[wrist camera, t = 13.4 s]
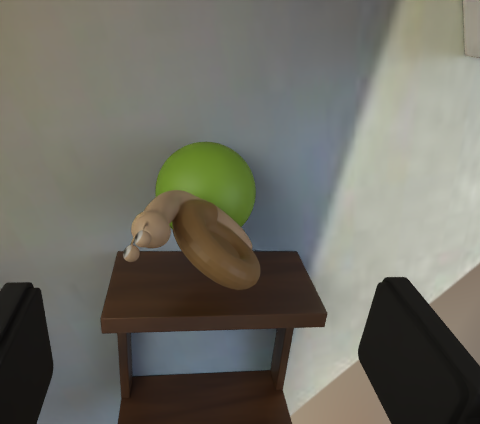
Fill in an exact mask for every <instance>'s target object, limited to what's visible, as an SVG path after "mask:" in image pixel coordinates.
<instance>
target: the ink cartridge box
mask: <svg viewBox="0 0 480 424" xmlns="http://www.w3.org/2000/svg"><path fill="white" fill-rule="evenodd" d="M463 15H464V44H465V55H466V56H469V57H476V58H480V0H463Z"/></svg>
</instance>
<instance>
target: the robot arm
mask: <svg viewBox="0 0 480 424" xmlns="http://www.w3.org/2000/svg"><path fill="white" fill-rule="evenodd" d="M358 356H359V360H360V363H361V364H362V367H363V368H364V370H365V372H366V374H367V376H368V378H369V380H370V382H371V384H372V386H373V388H374V390H375V392H376V394H377V396H378V398H379V400H380V402H381V404H382V406H383V408H384V410H385V412H386V414H387V416H388V418H389V420H390V422H391V424H480V366H479V365H478V363H477V362H476V361H475V360H474V359H473V357H472V356H471V355H470V354H469V353H468V351H467V350H466V349H465V348H464V346H463V345H462V344H461V343H460V342H459V341H458V339H457V338H456V337H455V336H454V334H453V333H452V332H451V331H450V329H449V328H448V327H447V326H446V325H445V323H444V322H443V321H442V320H441V319H440V317H439V316H438V315H437V314H436V313H435V311H434V310H433V309H432V308H431V306H430V305H429V304H428V303H427V302H426V300H425V299H424V298H423V297H422V295H421V294H420V293H419V292H418V291H417V289H416V288H415V287H414V286H413V285H412V283H411V282H410V281H409V280H408V279H407V278H405V277H387V278H385V279H384V280H383V281H382V282H380V283H379V284H378V285H377V288H376V291H375V295H374V298H373V301H372V305H371V308H370V311H369V315H368V318H367V321H366V325H365V328H364V331H363V335H362V338H361V341H360V345H359V348H358ZM52 374H53V358H52V352H51V346H50V341H49V335H48V329H47V323H46V317H45V311H44V306H43V300H42V294H41V290H40V288H34V287H33V284H32V283H30V282H26V283H6V284H5V285H4V286H3V288H2V289H1V291H0V424H37V420H38V417H39V414H40V411H41V408H42V405H43V402H44V399H45V396H46V393H47V390H48V387H49V384H50V381H51V378H52Z"/></svg>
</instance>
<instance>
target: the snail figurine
mask: <svg viewBox="0 0 480 424" xmlns="http://www.w3.org/2000/svg"><path fill="white" fill-rule="evenodd" d="M255 195H256V189H255V182H254V178H253V175H252V172H251V170H250V168H249V166H248V165H247V163H246V162H245V161H244V159H243V158H242V157H241V156H240V155H239V154H237V153H236V152H235V151H233V150H232V149H230V148H228V147H226V146H224V145H221V144H218V143H213V142H198V143H193V144H190V145H187V146H184V147H182V148H181V149H179V150H177V151H176V152H175V153H173V154H172V155H171V156H170V157H169V158H168V159H167V161H166V162H165V163H164V165H163V166H162V168H161V170H160V172H159V175H158V178H157V182H156V198H155V199H154V200H153V201H152V202H151V203H150V204H149V205H148V206H147V207H146V208H145V210H144V212H142V213H140V214H138V215H137V216H136V218H135V220H134V222H133V223H132V228H131V231H132V235H133V237H134V238H133V240H132V242H131V245H129V246H127V247H126V248H125V250H124V252H123V257H124V259H125V260H126V261H128V262H134V261H136V260H137V259H138V258H139V255H140V251H139V249H138V248H137V247H136V246H134V245H133V243H134V241H135V244H136V245H137V246H139V247H147V248H158V247H161V246H163V245H164V244H165V243H166V242H167V241H168V240H169V237H170V233H171V229H170V227H171V228H172V229H173V233H174V237H175V239H176V242H177V244H178V245H179V247H180V249H181V250H182V252H183V253H184V255H185V256H186V257H187V258H188V260H189V261H190V262H191V263H192V264H193V265H194V266H195V267H196V268H197V269H198V270H199V271H200V272H202V273H203V274H204V275H205V276H207V277H208V278H210V279H211V280H213V281H214V282H216V283H218V284H220V285H222V286H225V287H227V288H230V289H235V290H244V289H248V288H250V287H252V286H253V285H255V284H256V283H257V281H258V279H259V277H260V264H259V261H258V259H257V257H256V255H255V254H254V252H253V251H252V243H251V241H250V239H249V238H248V236H247V235H246V233H245V232H244V230H243V229H242V228H241V227H242V226H243V225H244V223H245V222H246V221H247V219H248V218H249V216H250V214H251V212H252V209H253V206H254V203H255Z"/></svg>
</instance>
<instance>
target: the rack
mask: <svg viewBox="0 0 480 424" xmlns="http://www.w3.org/2000/svg"><path fill="white" fill-rule="evenodd" d="M123 252H124V251H118V252H117V256H116V260H115V264H114V268H113V272H112V276H111V280H110V284H109V288H108V292H107V296H106V299H105V303H104V307H103V311H102V315H101V330H102V334H104V333H117V335H118V351H119V368H120V384H121V405H120V411H119V418H118V424H292V422H291V418H290V415H289V411H288V407H287V404H286V400H285V396H284V393H283V385H284V380H285V374H286V369H287V363H288V358H289V352H290V346H291V341H292V335H293V330H294V328H305V327H325V322H326V318H327V311H326V309H325V307H324V305H323V303H322V301H321V299H320V297H319V295H318V293H317V291H316V289H315V287H314V285H313V283H312V281H311V279H310V277H309V275H308V273H307V271H306V269H305V267H304V265H303V263H302V261H301V259H300V257H299V254H298V252H297V251H253V252H254V254H255V255H256V257H257V259H258V261H259V264H260V277H259V279H258V281H257V283H256V284H255V285H253V286H252V287H250V288H248V289H244V290H235V289H230V288H227V287H225V286H222V285H220V284H218V283H216V282H214V281H213V280H211V279H210V278H208V277H207V276H205V275H204V274H203V273H202V272H200V271H199V270H198V269H197V268H196V267H195V266H194V265H193V264H192V263H191V262H190V261H189V260H188V258H187V257H186V256H185V255H184V253H183V252H182V251H140V255H139V258H138V259H137V260H136V261H134V262H128V261H126V260H125V259H124V257H123ZM272 328H277V332H276V338H275V344H274V351H273V357H272V363H271V370H266V371H244V372H223V373H201V374H180V375H158V376H137V377H132V353H131V333H138V332H171V331H205V330H238V329H272Z"/></svg>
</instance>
